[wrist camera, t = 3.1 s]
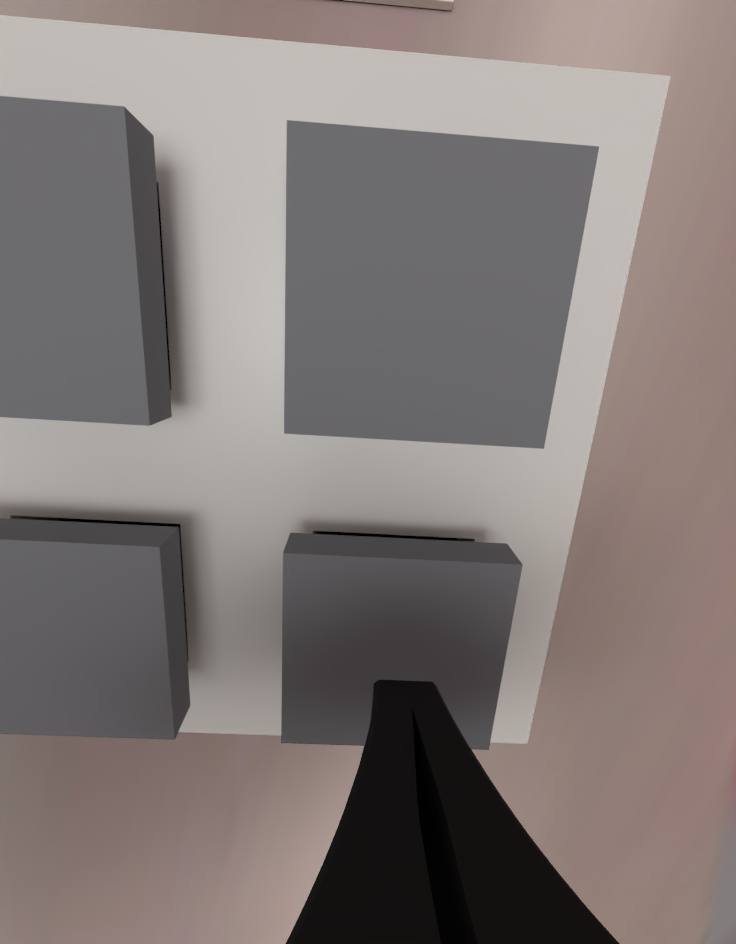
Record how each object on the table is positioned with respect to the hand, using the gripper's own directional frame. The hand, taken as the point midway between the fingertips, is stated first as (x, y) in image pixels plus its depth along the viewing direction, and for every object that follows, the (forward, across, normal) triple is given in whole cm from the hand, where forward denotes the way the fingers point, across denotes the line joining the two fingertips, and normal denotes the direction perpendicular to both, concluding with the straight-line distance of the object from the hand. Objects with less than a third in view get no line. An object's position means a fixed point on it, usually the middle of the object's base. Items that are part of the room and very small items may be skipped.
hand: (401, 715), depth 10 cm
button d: (+5, 0, -9) cm, 10 cm away
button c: (+5, +9, -9) cm, 14 cm away
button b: (+5, 0, 0) cm, 5 cm away
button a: (+5, +9, 0) cm, 10 cm away
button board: (+6, +4, -4) cm, 9 cm away
